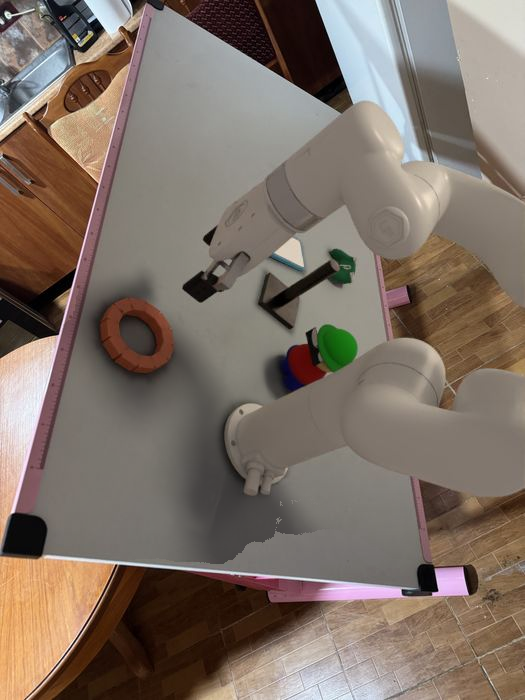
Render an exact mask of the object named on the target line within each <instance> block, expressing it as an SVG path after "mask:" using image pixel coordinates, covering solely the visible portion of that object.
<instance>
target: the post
mask: <svg viewBox="0 0 525 700" xmlns="http://www.w3.org/2000/svg"><path fill="white" fill-rule="evenodd" d="M338 264H339V262H338V261H337V260H336V259H335V258H331V259H329V260H328V261H326V262H325V263H323V264H321V265H320V266H318V267H316V268H315V269H314V270H312V271H311V272H309V273H308V274H307V275H304V276H303V277H301V278H300V279H298V280H297V281H295V282H294V283H293V284H291V285H290V286H287V285H286V284H285V283H283V282H282V281H281V280H280V279H279V278H277V277H276V276H275V274H273V273H271V272H268V273H266V275H265V278H264V282H263V287H262V290H261V294H260V297H259V302H258V305H259V306H260V307H261V308H263V309H264V310H265V311H267V312H268V313H269V314H270V315H271V316H273V318H275V319H276V320H277V321H279V322H280V323H281V324H283V325H284V326H285V327H286V328H288V329H289V330H292V329H293V328H294V327H295V323H296V318H297V313H298V308H299V304H300V303H299V302H300V298H301V296H302V295H304V294H305V293H307V292H308V291H310V290H312V289H313V288H315V287H316V286H318V285H320V284H321V283H322V282H324V281H326V280H327V279H329V278H330V276H332V275H334V274H335V273H337V272H338V271H339V270H340V267H339V265H338Z"/></svg>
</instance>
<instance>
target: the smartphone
mask: <svg viewBox="0 0 525 700" xmlns="http://www.w3.org/2000/svg"><path fill="white" fill-rule="evenodd" d="M270 257H271V258H273V259H275V260H277V261H278V262H281V263H283V264H285V265H287V266H289V267H291V268H292V269H295V270H297V271H299V272H302V271H304V270H305V269H306V261H305V255H304V250H303V244H302V242H301V240H300V239H299V238H297V237H295V235H294V236H293V237H292V238H291V239H289V240H288V241H287V242H286V243H285V244H284V245H283V246H281V247H280V248H279V249H278V250H277V251H275V252H274V253H273V254H272V255H271V256H269V258H270Z"/></svg>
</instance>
